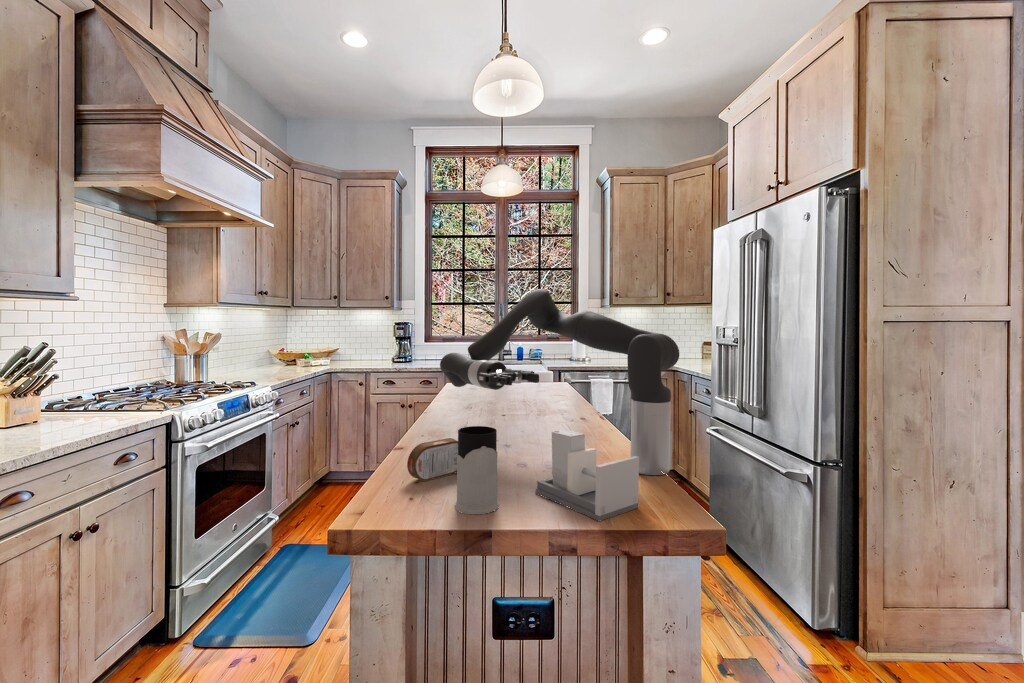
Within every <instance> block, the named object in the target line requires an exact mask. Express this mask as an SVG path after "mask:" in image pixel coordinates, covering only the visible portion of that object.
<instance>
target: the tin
mask: <svg viewBox="0 0 1024 683" xmlns="http://www.w3.org/2000/svg"><path fill="white" fill-rule="evenodd" d="M457 455H458V440H456V439H455V438H453V437H448V438H443V439H437V440H431V441H426V442H425V441H424V442H421V443H419V444H417V445H416V446H414V447H413V449H412V450H411V451H410V453H409V455H408V458H407V461H406V462H407V464H406V467H407V471H408V474H409V475H410V476H411V477H412V478H414V479H417V480H419V481H423V482H428V481H431V480H436V479H440V478H443V477H446V476H451V475H455V474H457ZM450 474H451V475H450ZM439 477H440V478H439Z"/></svg>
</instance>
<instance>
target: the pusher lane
mask: <svg viewBox="0 0 1024 683" xmlns="http://www.w3.org/2000/svg"><path fill="white" fill-rule="evenodd" d="M639 474H640V473H639V457H637V456H633V457H630V456H629V457H626V458H621V459H617V460H613V461H609V462H605V463H601V464H596V490H595V491H591V492H588V493H585V494H581V495H576V494H574V493H571V492H569V491H566V490H564V489H561V488H559V487H556V486H554V485H553V476H552V477H549V478H544V479H541V480H537V481H536V482H537V483H536V488H535V490H534V491H535V493H537V494H536V495H538V494H539V495H538V496H540V495H542V496H544V497H543V498H545V497H546V498H545V499H547V498H548V499H547V500H549V499H551V500H553V501H552V502H554V501H556V502H558V503H561V504H563V505H565V506H568V507H570V508H572V509H574V510H576V511H578V512H577V513H579V512H581V513H583V514H585V515H584V516H586V515H587V516H586V517H588V516H590V517H592V518H594V519H593V520H595V519H597V520H599V521H598V522H601V521H600V520H602V521H604V520H603V519H605V520H607V519H606V518H608V519H610V518H609V517H611V518H613V517H615V516H619V515H623V514H624V513H627V512H630V511H634V510H637V509H638V508H639V481H640V480H639V479H640V478H639V477H640V476H639ZM542 496H541V497H542ZM551 500H550V501H551ZM556 502H555V503H556ZM558 503H557V504H558ZM561 504H560V505H561ZM563 505H562V506H563ZM565 506H564V507H565ZM570 508H569V509H570ZM572 509H571V510H572ZM574 510H573V511H574ZM576 511H575V512H576ZM581 513H580V514H581ZM583 514H582V515H583ZM618 514H619V515H618ZM612 516H613V517H612ZM590 517H589V518H590ZM592 518H591V519H592ZM597 520H596V521H597Z"/></svg>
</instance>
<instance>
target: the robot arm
mask: <svg viewBox="0 0 1024 683" xmlns="http://www.w3.org/2000/svg"><path fill="white" fill-rule="evenodd" d="M526 318H527V319H528V320H529V321H530V323H531V324H532V326H533V327H534V328H536V329H538V330H541V331H545V332H549V333H554V334H557V335H560V336H563V337H566V338H567V339H571V340H573V341H575V342H577V343H580V344H581V345H585V346H587V347H589V348H592V349H595V350H598V351H599V350H600V351H606V352H610V353H616V354H618V353H619V354H624V355H627V382H628V383H627V384H628V388H629V390H630V394H631V397H630V398H631V399H630V400H631V404H630V406H631V408H630V409H631V410H630V451H629V452H630V454H629V455H630V456H629V457H633V456H637V457H639V474H641V475H648V476H663V475H667V474H669V472H670V470H672V458H673V457H672V456H673V455H672V452H673V451H672V450H673V445H672V444H673V431H672V430H671V412H672V411H671V410H672V408H671V404H672V403H671V402H672V401H671V400H672V392H671V389H670V388H669V387H667V386H666V385H664V384H663V381H662V372H663V371H666V370H669V369H671V368H673V367H674V366H675V365H676V364H677V363H678V361H679V359H680V349H679V347H678V345H677V343H676V342H675V341H674V339H673V338H672V337H670V336H669V335H666V334H663V333H657V332H653V331H648V330H643V329H639V328H636V327H632V326H631V325H627V324H625V323H623V322H621V321H618V320H615V319H612V318H610V317H608V316H606V315H602V314H600V313H596V312H594V311H589V310H581V311H580V310H579V311H577V312H575V313H573V314H568V313H565V312H564V311H561V310H560V308H558V307H557V306H556V304H555V301H554V299H553V297H552V296H551V294H550V293H549V291H548V290H546V289H543V288H539V289H538V288H537V289H535V290H531V292H529V293H528V294H526V295H525V296H523V298H522V299H520V301H519V302H518V303H517V304H515V306H514V307H512V308H511V310H509V312H507V314H506V315H505V316H504V317H503V318H502V319H501V320H500V321H499V322H498V323H496V325H494V326H493V327H491V329H490V330H488V331H487V332H486V333H485V334H483V335H482V336H480V337H479V338H478V339H477V340H475V341H474V342H473V343H470V345H468V346H467V352H468V355H469V357H468V356H466V355H464V354H462V353H460V352H450V353H447V354H445V355H444V356H443V357H442V358H441V359H440V362H439V367H440V370H441V372H442V373H443V374H444V375H445V377H446V378H447V379H448V380H449V382H450V383H451V384H452V385H453V386H454V387H456V388H461V387H464V386H466V385H471V386H476V387H479V388H483V389H488V390H500V389H502V388H503V387H505V386H512V385H513V384H518V385H519V384H521V383H523V382H524V383H525V382H526V383H533V384H534V383H535V384H538V383H539V382H540V374H539V373H535V371H533V370H523V369H512V368H507V366H506V365H505V364H504V363H502V361H494V360H492V358H493V357H496V355H499V353H501V352H502V350H504V348H505V346H506V345H507V344H508V342H509V340H510V338H511V336H512V334H513V332H515V329H516V328H517V326H518V325H519V324H520V323H521V321H523V320H524V319H526ZM516 379H517V380H516ZM661 471H662V472H663V473H665V474H663V473H662V472H661Z"/></svg>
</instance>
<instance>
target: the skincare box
mask: <svg viewBox="0 0 1024 683" xmlns="http://www.w3.org/2000/svg"><path fill="white" fill-rule="evenodd" d="M585 437H586V436H585V433H581V432H577V431H572V430H568V429H564V428H563V429H559V430H556V431H555V430H554V431H551V463H552V466H551V467H552V477H553V485H554V486H556V487H559V488H561V489H564V490H566V491H567V478H568V453H571V452H576V451H580V450H585V449H586V443H585V442H586V440H585Z"/></svg>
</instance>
